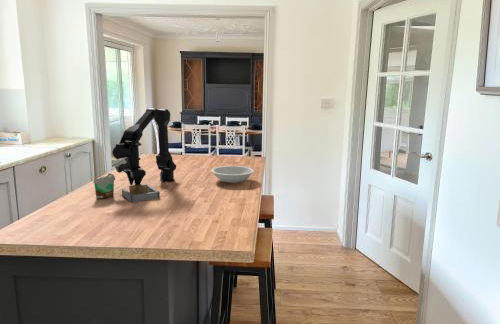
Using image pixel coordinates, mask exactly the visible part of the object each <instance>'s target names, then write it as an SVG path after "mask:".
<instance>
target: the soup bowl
mask: <svg viewBox="0 0 500 324" xmlns="http://www.w3.org/2000/svg"><path fill="white" fill-rule="evenodd" d="M211 173H213V174H214V175H215V177H216V179H219V180H220V181H221V182H224V183H232V184H233V183H242V182H245V181H246V180H248V179H249V178H250V177H251V175H252V174H254V173H255V170H254V169H253V168H251V167H248V166H242V165H224V166H216V167H213V168H212V169H211Z"/></svg>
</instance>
